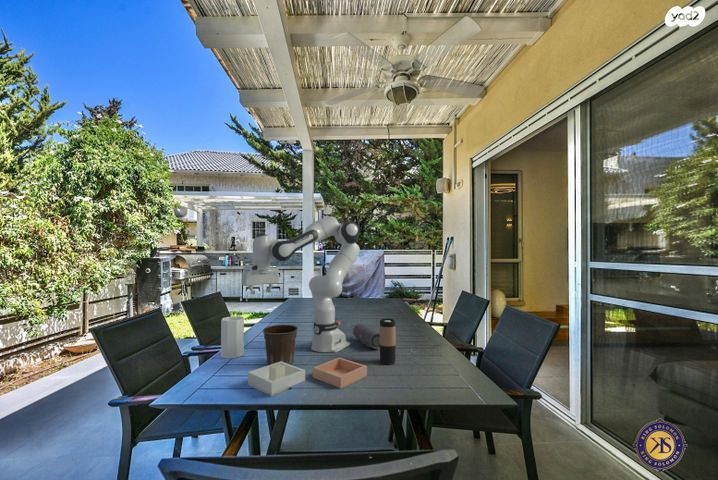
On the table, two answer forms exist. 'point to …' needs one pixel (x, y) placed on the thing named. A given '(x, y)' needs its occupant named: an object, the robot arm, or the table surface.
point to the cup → (232, 337)
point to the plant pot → (280, 343)
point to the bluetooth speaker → (367, 336)
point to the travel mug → (387, 341)
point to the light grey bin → (272, 388)
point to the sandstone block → (276, 372)
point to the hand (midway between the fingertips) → (260, 293)
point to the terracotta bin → (339, 372)
